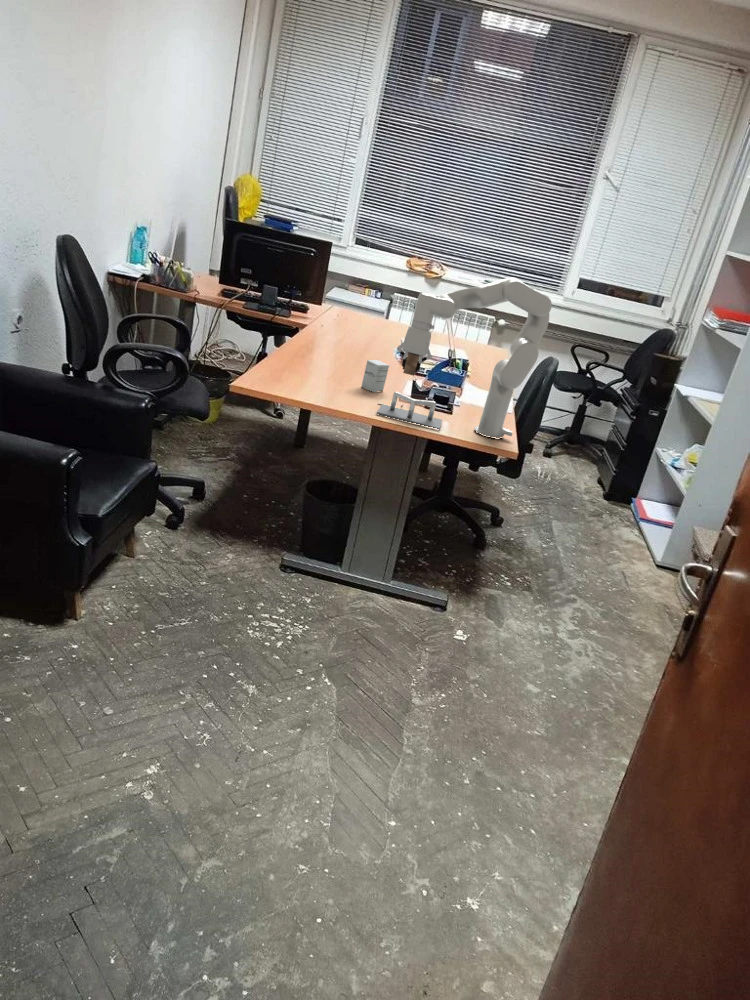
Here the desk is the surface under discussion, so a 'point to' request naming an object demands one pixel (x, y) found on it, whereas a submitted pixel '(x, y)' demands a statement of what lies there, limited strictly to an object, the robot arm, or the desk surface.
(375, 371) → the supplement box
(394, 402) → the grey bridge stand
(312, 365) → the desk surface
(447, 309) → the robot arm
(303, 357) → the desk surface
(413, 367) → the walnut block
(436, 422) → the base
